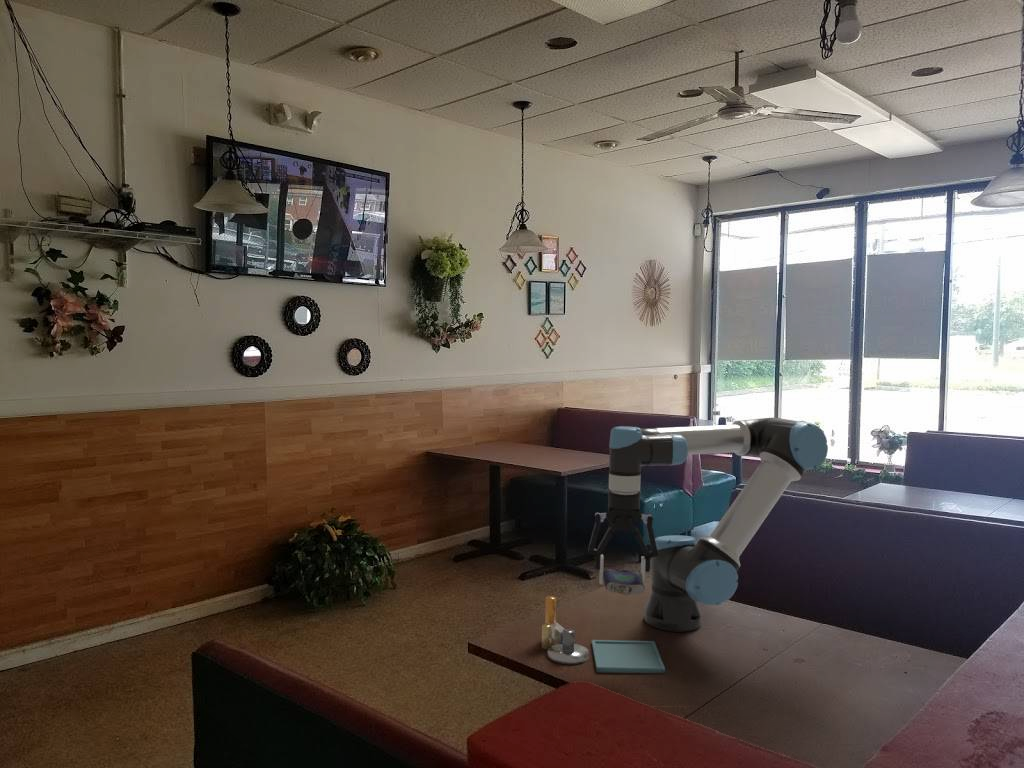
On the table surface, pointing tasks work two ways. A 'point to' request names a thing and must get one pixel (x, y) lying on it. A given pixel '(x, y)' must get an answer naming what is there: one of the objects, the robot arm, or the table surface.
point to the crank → (553, 619)
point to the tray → (627, 656)
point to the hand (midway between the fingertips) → (621, 583)
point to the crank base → (563, 647)
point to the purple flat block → (623, 581)
